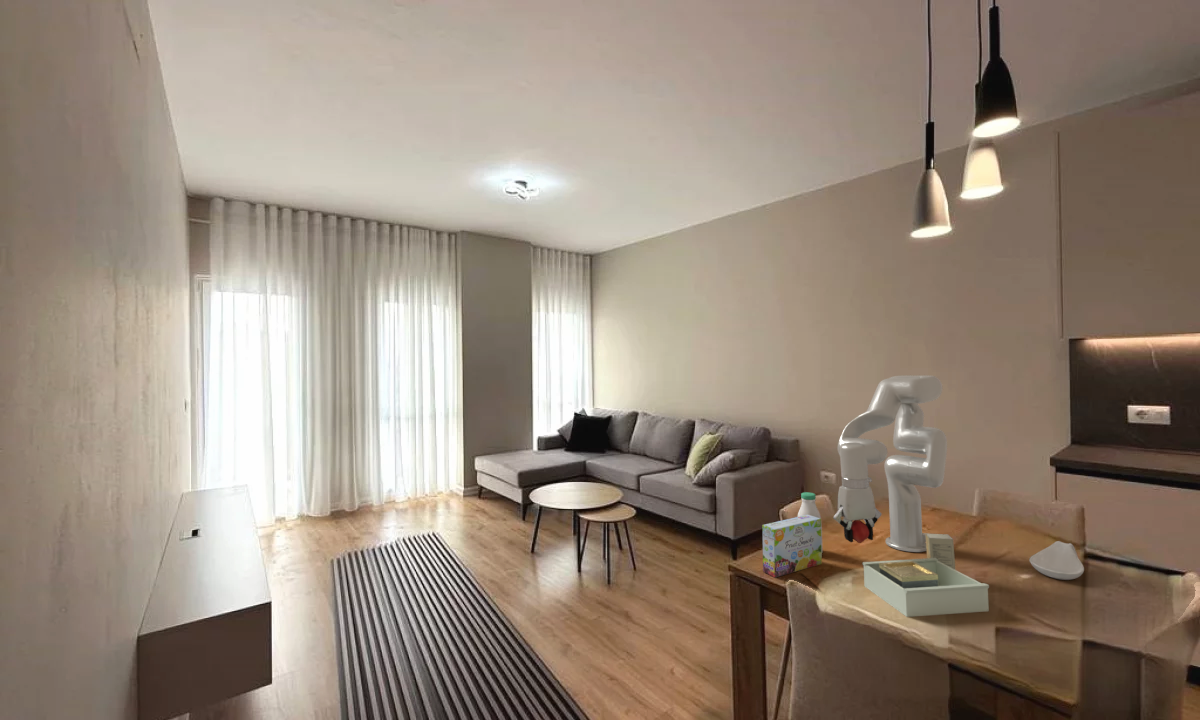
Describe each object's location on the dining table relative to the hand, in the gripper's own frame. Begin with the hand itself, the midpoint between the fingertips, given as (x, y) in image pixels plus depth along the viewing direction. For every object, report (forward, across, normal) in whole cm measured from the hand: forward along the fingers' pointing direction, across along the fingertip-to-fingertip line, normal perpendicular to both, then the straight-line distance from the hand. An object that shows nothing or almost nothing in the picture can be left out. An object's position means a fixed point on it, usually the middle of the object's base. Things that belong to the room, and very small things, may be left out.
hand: (859, 539), depth 151 cm
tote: (+9, -4, +22) cm, 24 cm away
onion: (+1, 0, 0) cm, 1 cm away
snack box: (+9, +20, -3) cm, 22 cm away
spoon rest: (+12, -57, +9) cm, 59 cm away
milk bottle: (+10, +8, -15) cm, 20 cm away
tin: (+8, 0, +22) cm, 23 cm away
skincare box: (+10, -19, +9) cm, 24 cm away
